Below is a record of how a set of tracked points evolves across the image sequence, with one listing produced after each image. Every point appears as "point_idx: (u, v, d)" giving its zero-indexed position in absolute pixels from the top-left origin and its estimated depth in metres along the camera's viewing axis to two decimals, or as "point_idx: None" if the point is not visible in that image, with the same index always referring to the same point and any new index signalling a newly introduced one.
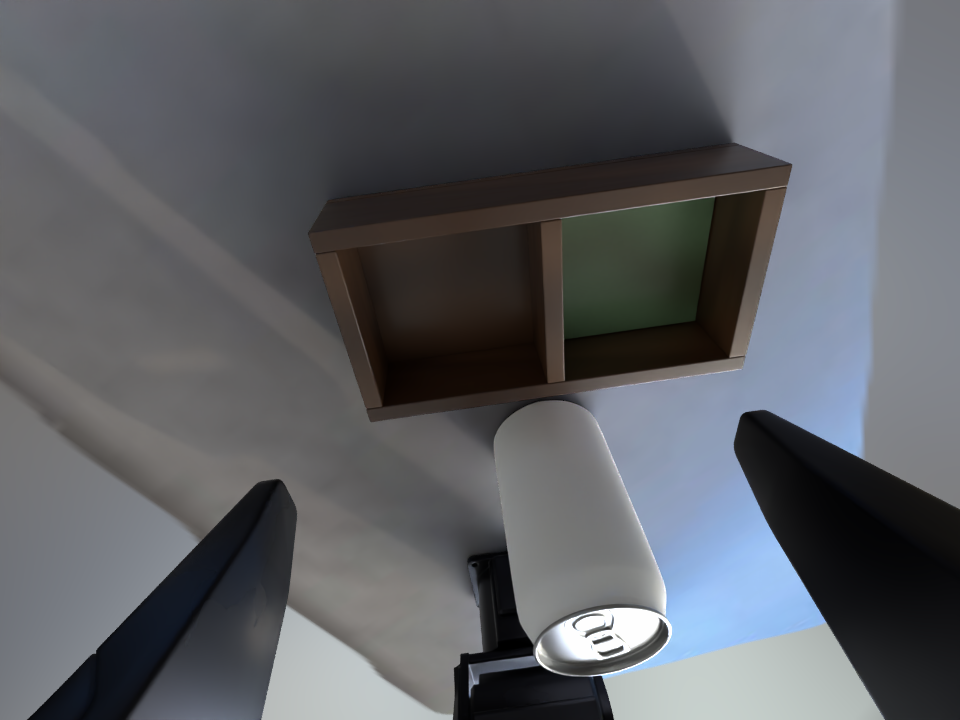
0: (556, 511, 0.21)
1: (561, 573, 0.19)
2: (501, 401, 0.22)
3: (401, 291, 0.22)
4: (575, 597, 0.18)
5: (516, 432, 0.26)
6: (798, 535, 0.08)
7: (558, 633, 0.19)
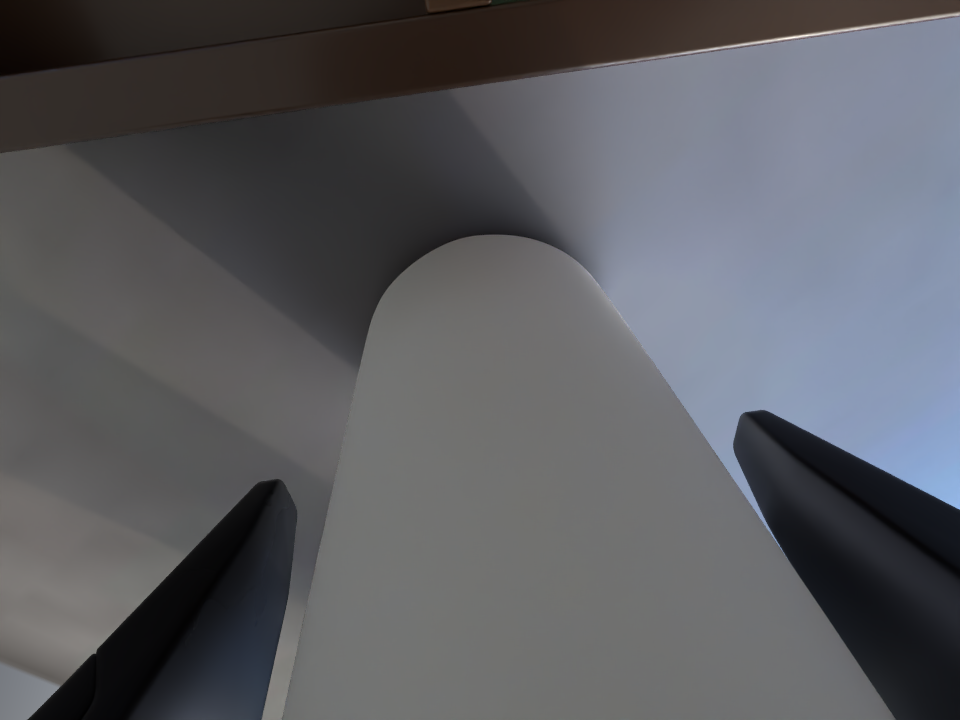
0: (449, 498, 0.05)
1: None
2: (264, 101, 0.06)
3: None
4: None
5: (397, 301, 0.10)
6: (797, 535, 0.08)
7: None
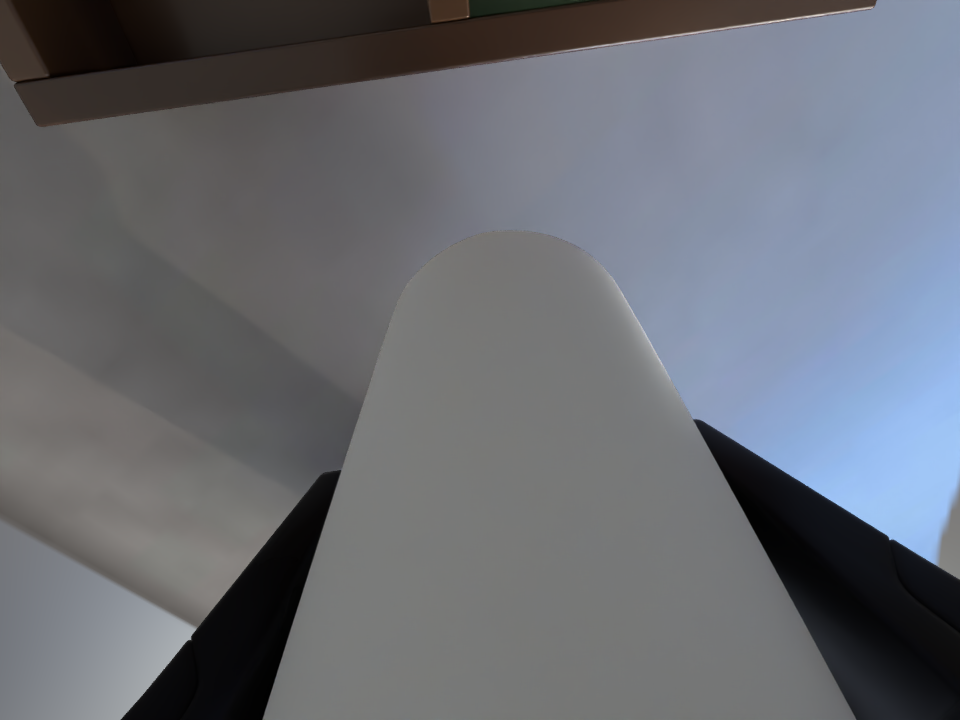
0: (440, 466, 0.05)
1: None
2: (330, 77, 0.10)
3: None
4: None
5: (418, 290, 0.10)
6: None
7: None
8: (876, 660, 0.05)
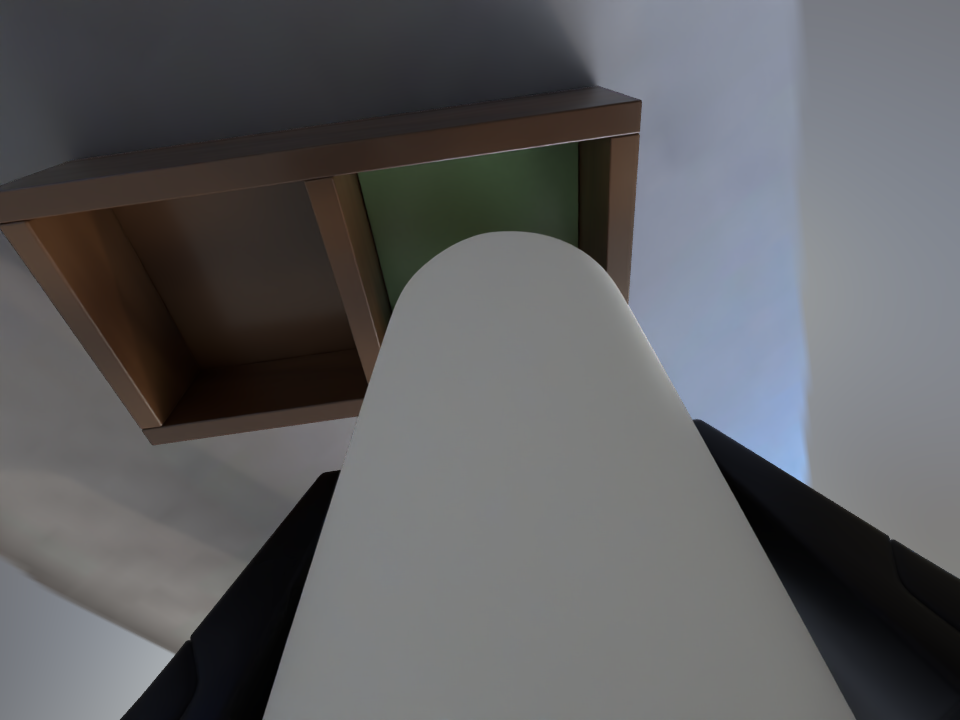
0: (440, 468, 0.05)
1: None
2: (317, 419, 0.17)
3: (193, 279, 0.18)
4: None
5: (417, 291, 0.10)
6: None
7: None
8: (877, 661, 0.05)
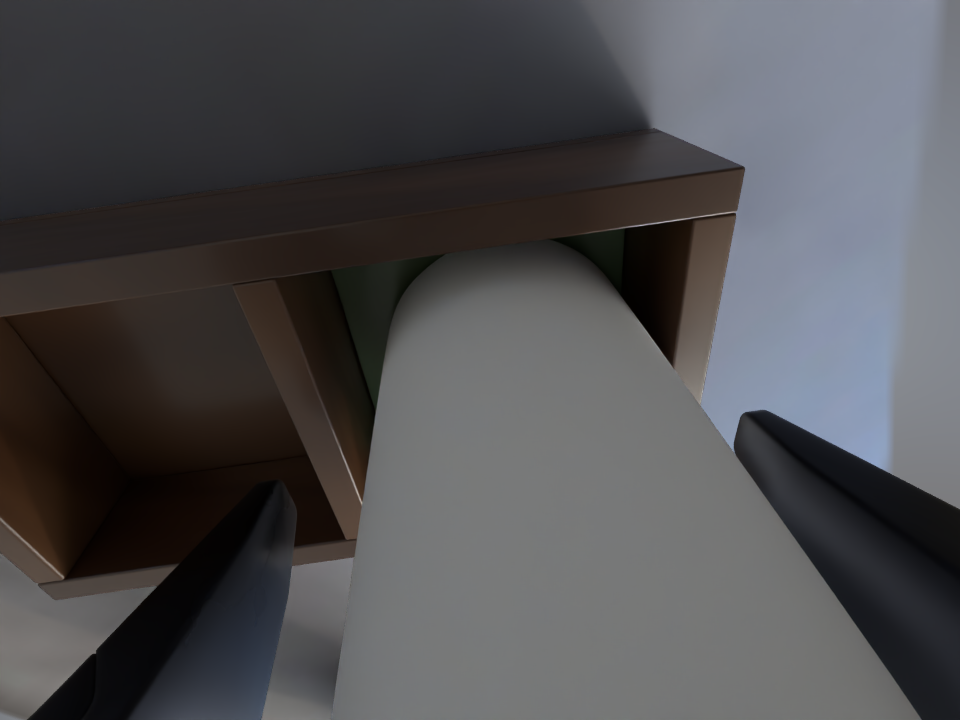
0: (490, 480, 0.05)
1: None
2: None
3: (111, 378, 0.13)
4: None
5: (421, 299, 0.10)
6: (798, 535, 0.08)
7: None
8: None
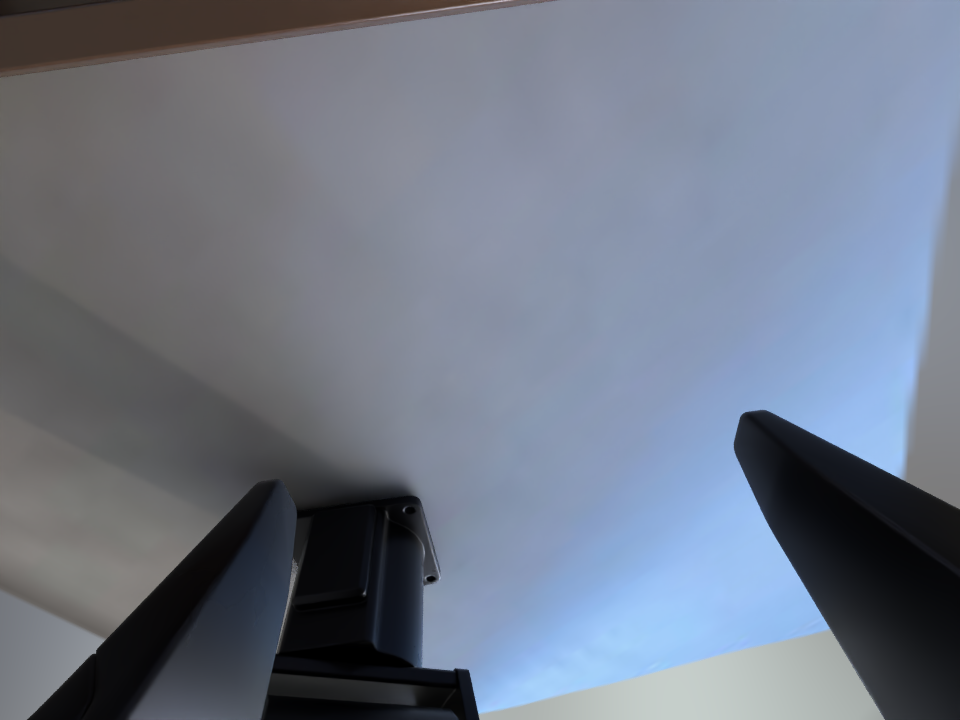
0: None
1: None
2: (81, 50, 0.09)
3: None
4: None
5: None
6: (798, 535, 0.08)
7: None
8: None
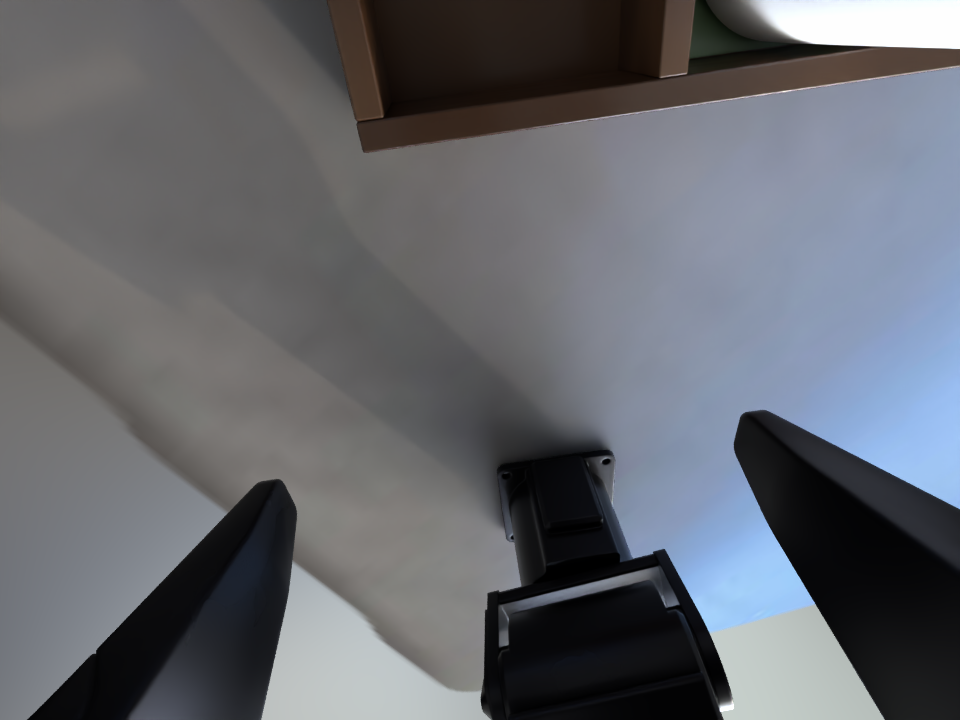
0: None
1: None
2: (579, 116, 0.13)
3: None
4: None
5: None
6: (798, 535, 0.08)
7: None
8: None
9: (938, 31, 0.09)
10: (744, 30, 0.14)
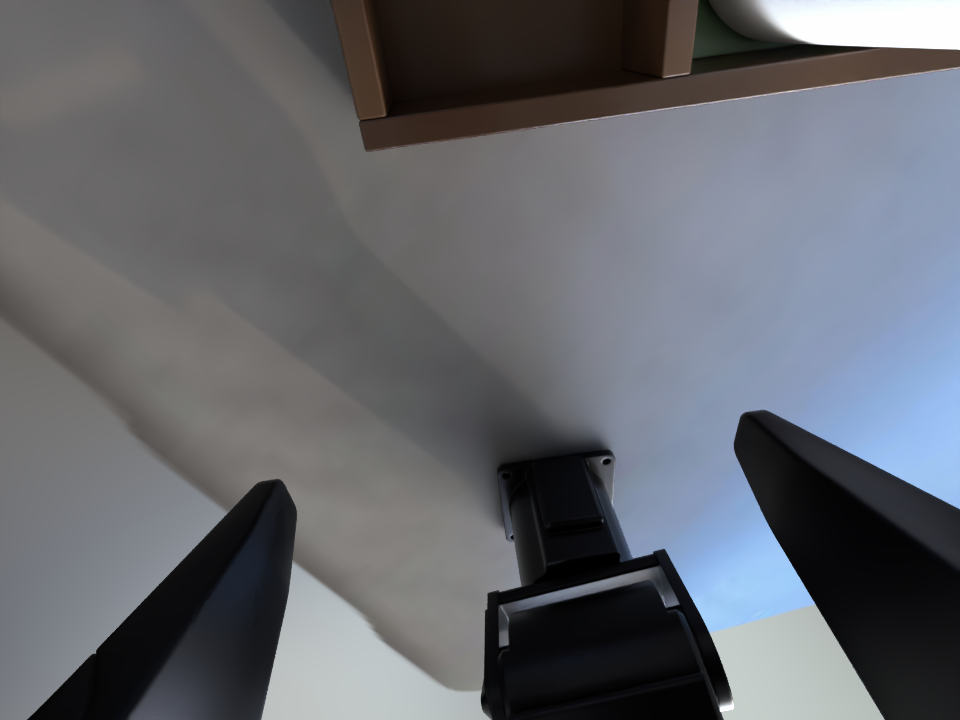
0: None
1: None
2: (582, 116, 0.13)
3: None
4: None
5: None
6: (798, 535, 0.08)
7: None
8: None
9: (943, 32, 0.09)
10: (747, 30, 0.14)
